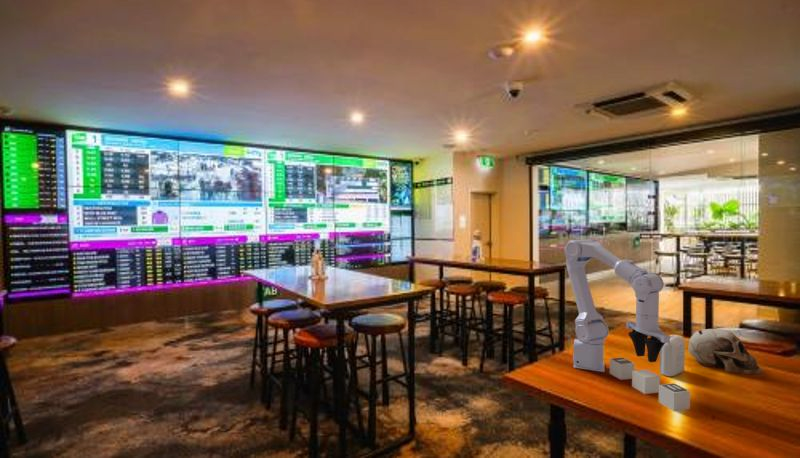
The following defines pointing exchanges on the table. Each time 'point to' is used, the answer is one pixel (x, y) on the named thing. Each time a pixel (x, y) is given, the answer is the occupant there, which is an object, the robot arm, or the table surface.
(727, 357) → the grey skull
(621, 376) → the marked block 1
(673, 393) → the marked block 2
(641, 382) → the plain block
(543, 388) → the table surface
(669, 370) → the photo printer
